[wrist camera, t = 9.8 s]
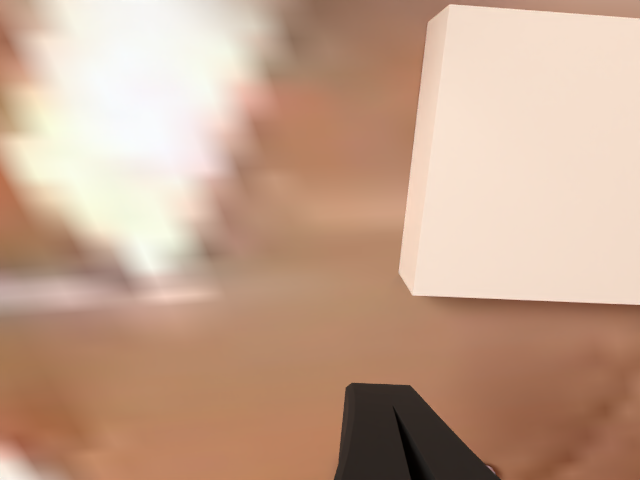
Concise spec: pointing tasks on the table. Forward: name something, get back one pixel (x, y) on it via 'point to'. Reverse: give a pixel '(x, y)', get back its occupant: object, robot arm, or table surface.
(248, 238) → the table surface
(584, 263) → the board
